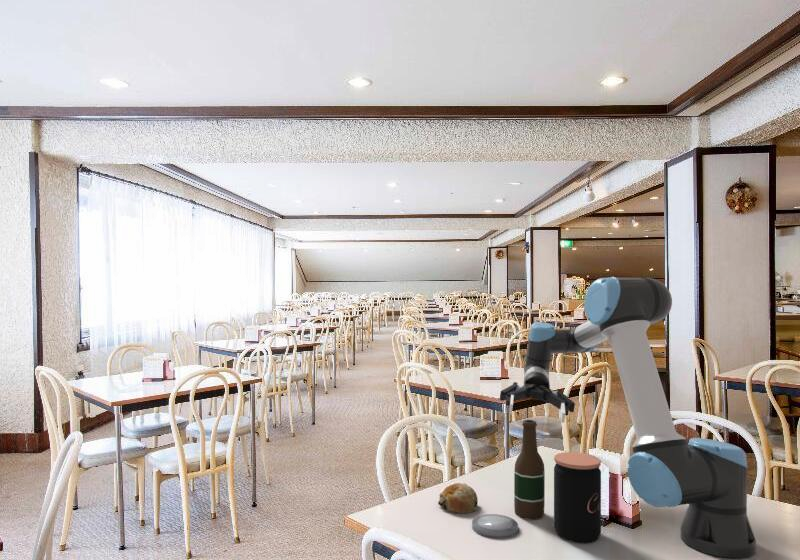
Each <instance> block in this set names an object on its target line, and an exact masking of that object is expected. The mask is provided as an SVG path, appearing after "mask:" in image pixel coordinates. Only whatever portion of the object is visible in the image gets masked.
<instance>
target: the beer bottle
mask: <svg viewBox="0 0 800 560" xmlns="http://www.w3.org/2000/svg"><path fill="white" fill-rule="evenodd" d="M521 425H522V427H523V429H522V441H521V452H520V453H519V455H518V456H517V457H516V459H515V460H516V461H515V464H514V477H513V480H514V481H513V482H514V484H513V485H514V486H513V488H514V491H513V492H514V497H513V499H514V500H513V501H514V503H513V504H514V505H513V506H514V514H515V515H516V516H518V517H519V518H521V519H525V520H531V521H533V520H538V519H542V518H543V516H544V514H545V499H546V497H545V494H546V493H545V489H546V488H545V486H546V485H545V481H546V480H545V479H546V478H545V476H546V474H545V472H546V471H545V463H544V461H543V458H542V456H541V455H540V453H539V451H538V443H537V428H536V427H537V426H538V424H537V421H535V420H534V419H533V420H532V419H526V420H525V419H524V420H523V421H522V424H521Z"/></svg>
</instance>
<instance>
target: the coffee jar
mask: <svg viewBox="0 0 800 560" xmlns="http://www.w3.org/2000/svg"><path fill="white" fill-rule="evenodd" d="M553 459H554V462H555V465H554V467H553V527H554V531H555V532H556V533H557V536H559V538H561V539H563V540H565V541H567V542H571V543H576V544H591V543H594V542H596V541H597V540H598V539H599V538H600V536H601V533H602V472H601V471H602V470H601V469H600V467H601V464H602V463H601V462H602V460H601V458H599V457H597V456H596V455H592V454H589V453H584V452H575V451H572V452H571V451H568V452H560V453H557V454H555V455H554V457H553Z"/></svg>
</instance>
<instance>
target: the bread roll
mask: <svg viewBox="0 0 800 560" xmlns="http://www.w3.org/2000/svg"><path fill="white" fill-rule="evenodd" d="M437 504H438V505H439V507H441V509H442V510H444V511H446V512H449V513H453V514H469V513H473V512H476V511H478V495H477V492H476V491H475V489H473V487H471V486H470V485H468V484H466V483H460V482H458V483H456V482H455V483H452V484H451V485H448V486H446V487H445V488H444V489H443V491H442V492H441V493H440V494H439V499H438V503H437Z"/></svg>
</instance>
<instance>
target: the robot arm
mask: <svg viewBox="0 0 800 560" xmlns="http://www.w3.org/2000/svg"><path fill="white" fill-rule="evenodd" d="M672 306H673V298H672V294H671V292H670V290H669V289H668V287H667V286H666V285H665V284H664V283H663V282H661V281H659V280H658V279H655V278H651V277H616V276H610V277H600V278H598V279H596V280H594V281H593V282H592V283H591V284H590V285H589V287H588V288H587V290H586V294H585V296H584V304H583V307H584V309H583V310H584V313H585V317H586V319H587V321H586V322H583V323H582V324H580V325H578V326H575V327H574V328H570V329H564V328H563V329H556V327H555V326H554V324H551V323H550V322H549V323H548V322H541V321H539V322H537V321H536V322H532V324H531V326H530V329H529V332H528V342H527V343H528V344H527V352H526V357H525V363H524V366H523V372H524V375H523V385H519V384H518V382H516V381H514V382H513V383H512V384H511V385H509V386H508V387H505V388H504V389H502V390H501V391H500V394H499V401H501V402H502V401H505V406H509V410H508V414H510V415H511V414H512V413H513V407H514V402H516V401H521V400H523V399H524V400H528V399H531V400H535V401H536V400H537V401H538V400H539V401H543V402H545V403H546V404H550V405H552V406H554V407H555V408H557V409H559V410H560V411H559V412H560V414H559V415H560V422H561V423H565V419H566V416H567V417H568V416H569V412H571V413H574V412H575V405H576V403H575V402H574V401H573V400H572V399H571V398H569V397H568V396H567V395H566V394H564V393H563V391H562V389H560V388H558V389H557V390H555V391H554V390H552V389H551V388H550V386H551V384H550V383H551V382H550V367H551V360H552V355H554V354H555V355H557V354H575V353H576V354H577V353H578V354H584V353H591V352H592V351H594V350H595V348H596V347H597V345H599V344H601V343H603V342H606V341H608V340H609V343H610V347H611V350H612V354H613V357H614V362H615V364H616V367H617V368H616V369H617V372H618V376H619V379H620V382H621V386H622V389H623V393H624V398H625V401H626V405H627V408H628V412H629V415H630V419H631V422H632V427H633V430H634V434H635V437H636V440H635V441H634V442H633V444H632V446H631V448H632V453H633V454H632V455H631V456H630V457H629V458H628V461H627V464H628V465H627V469H626V472H627V476H628V480H629V482H630V485H631V487H632V488H633V491H634V492H635V493H636V495H637V496H638V497H639V498H640V499H642V500H643V501H644V503H646V504H648V505H650V506H652V507H654V508H655V507H656V508H664V507H665V508H674V507H675V508H676V507H678V506H682V505H683V506H684V505H688V507H687V508H686V511H685V514H684V517H683V520H682V523H681V526H680V539H681V540H682V542H684V544H685V545H687V546H689V548H693V549H694V550H697V551H699V552H700V553H701V552H702V553H705V554H708V555H711V556H716V557H719V558H720V557H722V558H728V559H744V558H749V557H752V556H754V555H755V554H756V553H757V540H756V538H755V537H756V536H755V534H754V531H753V528H752V526H751V523H750V520H749V517H748V513H747V510H748V509H747V504H748V503H747V502H748V500H747V499H748V469H749V468H748V464H747V463H748V462H747V454H746V452H745V451H744V449H743V448H741V447H739V446H737V445H735V444H733V443H728V442H724V441H720V440H715V439H708V438H701V437H691V438H690V439H689V441H688V442H687V438H686V437H685V436H683V435H681V434H680V433H678V431H676V427H675V423H674V420H673V418H672V414H671V410H670V408H669V404H668V400H667V398H666V394H665V391H664V388H663V384H662V381H661V378H660V375H659V372H658V367H657V365H656V361H655V359H654V355H653V352H652V348H651V345H650V342H649V339H648V334H647V330H648V329H649V327H650V326H651V325H654V324H657V323H658V322H661V321H662V320H664V319H665V318H667V316H668V315H669V313H670V312H671V309H672Z"/></svg>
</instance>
